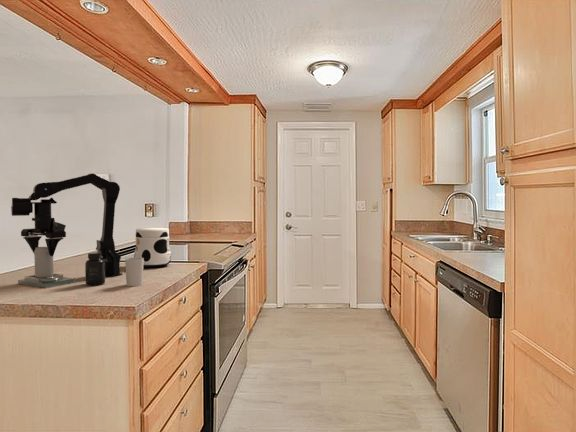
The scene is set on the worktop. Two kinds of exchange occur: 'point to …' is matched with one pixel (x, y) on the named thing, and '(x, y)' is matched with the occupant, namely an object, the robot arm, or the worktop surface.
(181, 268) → the worktop surface
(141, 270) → the drinking glass
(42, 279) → the grey flat piece
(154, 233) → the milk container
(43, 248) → the beverage can
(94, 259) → the supplement bottle
